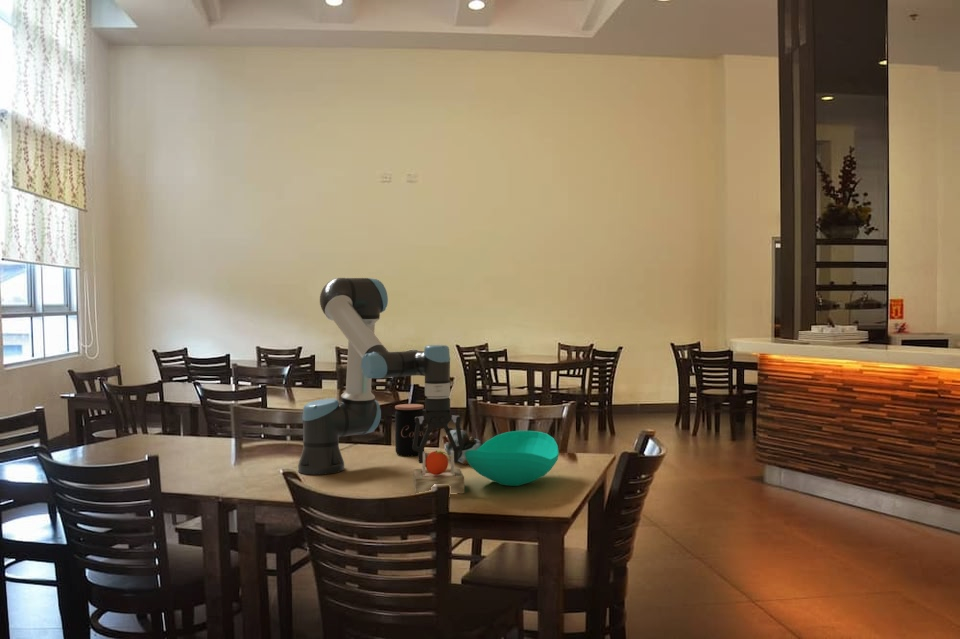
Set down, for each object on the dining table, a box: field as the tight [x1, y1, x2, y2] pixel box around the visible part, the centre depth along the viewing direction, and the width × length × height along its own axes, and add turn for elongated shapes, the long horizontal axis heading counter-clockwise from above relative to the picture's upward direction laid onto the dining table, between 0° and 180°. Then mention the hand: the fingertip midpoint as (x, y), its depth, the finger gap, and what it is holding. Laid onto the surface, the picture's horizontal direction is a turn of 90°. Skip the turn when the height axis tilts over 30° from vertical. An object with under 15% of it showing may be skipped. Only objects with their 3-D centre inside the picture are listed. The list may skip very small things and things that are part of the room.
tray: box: [413, 467, 465, 494], centre depth 235 cm, size 14×14×5 cm
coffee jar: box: [394, 403, 425, 457], centre depth 293 cm, size 11×11×18 cm
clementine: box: [425, 450, 451, 475], centre depth 235 cm, size 8×7×7 cm
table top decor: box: [465, 430, 560, 487], centre depth 242 cm, size 40×28×13 cm
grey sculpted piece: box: [441, 427, 484, 466], centre depth 277 cm, size 15×12×14 cm
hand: (438, 473), depth 236 cm, fingers closed on clementine, 8 cm apart
